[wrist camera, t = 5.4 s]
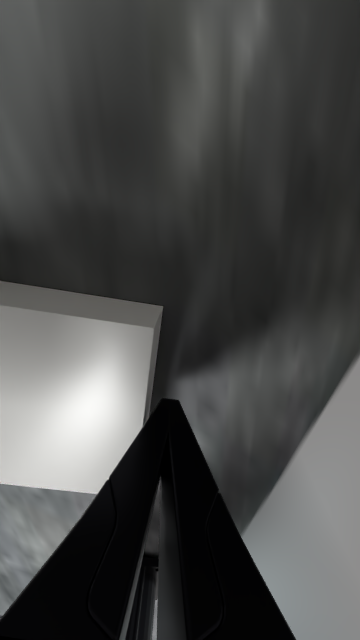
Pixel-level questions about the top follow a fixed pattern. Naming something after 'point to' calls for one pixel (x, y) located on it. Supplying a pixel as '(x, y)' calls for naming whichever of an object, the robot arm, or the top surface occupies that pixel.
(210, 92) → the top surface
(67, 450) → the white flat block
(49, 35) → the top surface
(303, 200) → the top surface
